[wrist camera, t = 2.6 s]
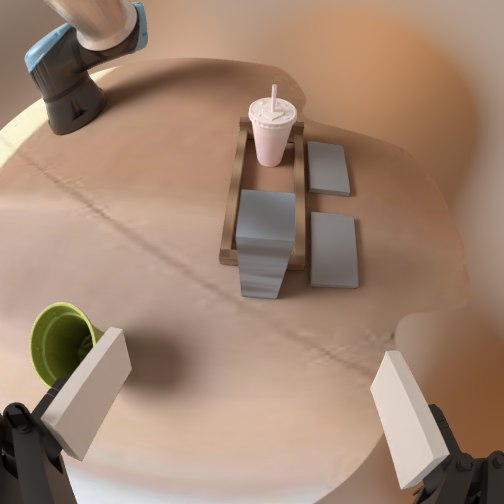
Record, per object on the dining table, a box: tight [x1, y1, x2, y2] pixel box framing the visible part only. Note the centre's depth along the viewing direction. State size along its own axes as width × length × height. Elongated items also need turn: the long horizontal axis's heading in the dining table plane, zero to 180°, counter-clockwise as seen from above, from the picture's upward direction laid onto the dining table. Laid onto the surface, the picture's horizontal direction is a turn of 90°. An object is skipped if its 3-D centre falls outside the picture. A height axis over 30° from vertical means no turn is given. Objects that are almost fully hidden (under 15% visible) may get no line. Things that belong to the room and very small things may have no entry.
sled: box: [219, 117, 305, 299], centre depth 31 cm, size 27×10×15 cm, turn 175°
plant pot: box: [29, 302, 105, 389], centre depth 25 cm, size 9×9×9 cm
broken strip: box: [307, 141, 359, 289], centre depth 38 cm, size 24×6×1 cm, turn 175°
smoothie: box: [249, 84, 297, 167], centre depth 35 cm, size 6×6×14 cm
